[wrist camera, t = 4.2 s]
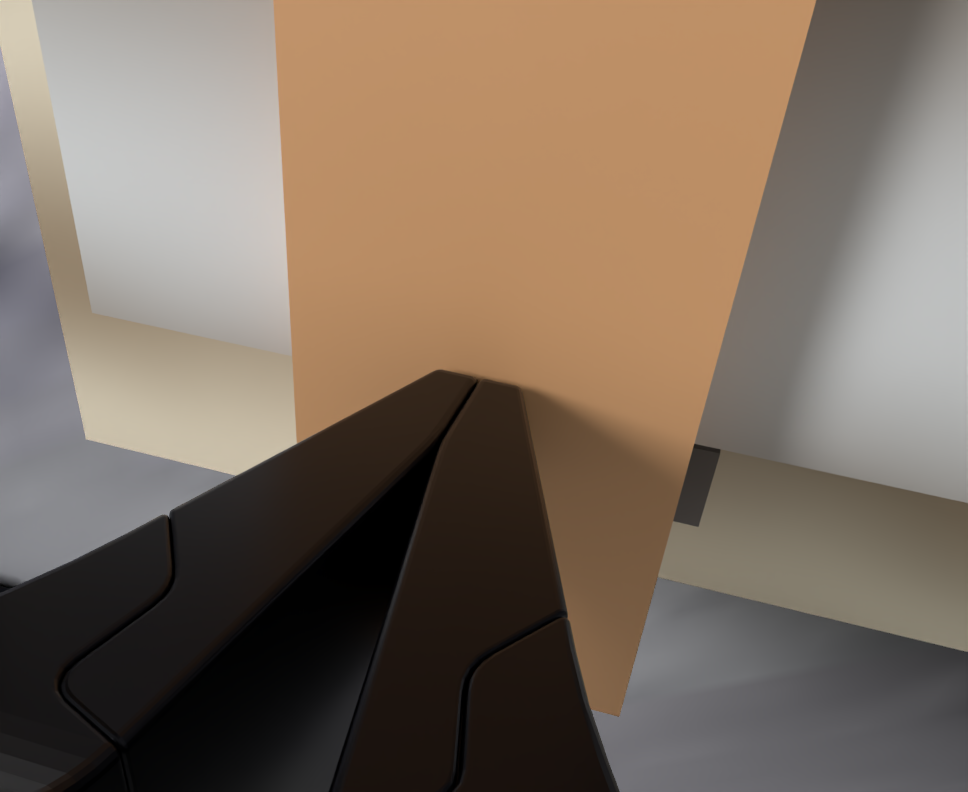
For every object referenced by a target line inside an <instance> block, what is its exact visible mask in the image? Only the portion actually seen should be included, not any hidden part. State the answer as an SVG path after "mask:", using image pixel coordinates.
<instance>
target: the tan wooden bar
mask: <svg viewBox="0 0 968 792" xmlns="http://www.w3.org/2000/svg"><path fill="white" fill-rule="evenodd" d="M815 3H816V0H273V5H274V24H275V43H276V62H277V81H278V99H279V118H280V137H281V156H282V175H283V194H284V213H285V231H286V250H287V269H288V288H289V307H290V326H291V345H292V363H293V382H294V401H295V420H296V439H297V443H299V442H301V441H303V440H304V439H306V438H308V437H310V436H312V435H314V434H316V433H318V432H320V431H321V430H323V429H325V428H327V427H329V426H331V425H333V424H335V423H337V422H338V421H340V420H342V419H344V418H346V417H348V416H350V415H352V414H353V413H355V412H357V411H359V410H361V409H363V408H365V407H367V406H369V405H370V404H372V403H374V402H376V401H378V400H380V399H382V398H384V397H385V396H387V395H389V394H391V393H393V392H395V391H397V390H399V389H401V388H402V387H404V386H406V385H408V384H410V383H412V382H414V381H416V380H418V379H419V378H421V377H423V376H425V375H427V374H429V373H431V372H433V371H435V370H439V369H442V370H447V371H451V372H456V373H460V374H465V375H470V376H473V377H475V378H476V379H477V382H478V383H479V382H480V381H481V380H483V379H488V380H492V381H497V382H502V383H507V384H511V385H516V386H518V387H519V388H521V390H522V392H523V397H524V402H525V407H526V411H527V416H528V421H529V426H530V431H531V436H532V441H533V446H534V451H535V455H536V460H537V465H538V470H539V475H540V480H541V485H542V490H543V495H544V499H545V504H546V509H547V514H548V519H549V524H550V529H551V534H552V539H553V543H554V548H555V553H556V558H557V563H558V568H559V573H560V578H561V583H562V587H563V592H564V597H565V602H566V607H567V612H568V618H567V619H568V620H569V621H570V624H571V629H572V634H573V639H574V644H575V648H576V653H577V657H578V661H579V665H580V669H581V673H582V677H583V681H584V685H585V689H586V693H587V697H588V701H589V705H590V708H591V709H592V710H596V711H599V712H603V713H607V714H611V715H614V716H618V717H619V716H620V712H621V708H622V705H623V701H624V697H625V694H626V690H627V686H628V683H629V679H630V676H631V672H632V668H633V665H634V661H635V657H636V654H637V650H638V646H639V643H640V639H641V636H642V632H643V628H644V625H645V621H646V617H647V614H648V610H649V607H650V603H651V599H652V596H653V592H654V588H655V585H656V581H657V577H658V574H659V570H660V567H661V563H662V559H663V556H664V552H665V548H666V545H667V541H668V537H669V534H670V530H671V527H672V523H673V519H674V516H675V512H676V508H677V505H678V501H679V498H680V494H681V490H682V487H683V483H684V479H685V476H686V472H687V468H688V465H689V461H690V458H691V454H692V450H693V447H694V443H695V439H696V436H697V432H698V428H699V425H700V421H701V418H702V414H703V410H704V407H705V403H706V399H707V396H708V392H709V388H710V385H711V381H712V378H713V374H714V370H715V367H716V363H717V359H718V356H719V352H720V349H721V345H722V341H723V338H724V334H725V330H726V327H727V323H728V319H729V316H730V312H731V309H732V305H733V301H734V298H735V294H736V290H737V287H738V283H739V279H740V276H741V272H742V269H743V265H744V261H745V258H746V254H747V250H748V247H749V243H750V240H751V236H752V232H753V229H754V225H755V221H756V218H757V214H758V210H759V207H760V203H761V200H762V196H763V192H764V189H765V185H766V181H767V178H768V174H769V170H770V167H771V163H772V160H773V156H774V152H775V149H776V145H777V141H778V138H779V134H780V130H781V127H782V123H783V120H784V116H785V112H786V109H787V105H788V101H789V98H790V94H791V91H792V87H793V83H794V80H795V76H796V72H797V69H798V65H799V61H800V58H801V54H802V51H803V47H804V43H805V40H806V36H807V32H808V29H809V25H810V21H811V18H812V14H813V11H814V7H815Z"/></svg>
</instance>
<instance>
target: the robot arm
mask: <svg viewBox="0 0 968 792" xmlns="http://www.w3.org/2000/svg"><path fill="white" fill-rule="evenodd" d="M169 517H170V519H169ZM169 517H168V516H167V515H161V516H159V517H157V518H155V519H153V520H151V521H149V522H147V523H146V524H144V525H142V526H140V527H138V528H136V529H134V530H132V531H130V532H129V533H127V534H125V535H123V536H121V537H119V538H117V539H115V540H113V541H111V542H109V543H107V544H105V545H103V546H101V547H99V548H97V549H95V550H93V551H91V552H89V553H87V554H85V555H83V556H81V557H79V558H77V559H75V560H73V561H71V562H69V563H66V564H64V565H62V566H60V567H57V568H55V569H53V570H51V571H49V572H46V573H44V574H42V575H40V576H37V577H35V578H33V579H31V580H29V581H26V582H24V583H22V584H20V585H17V586H15V587H13V588H11V589H10V588H6V587H2V586H0V792H620V791H619V789H618V786H617V783H616V781H615V778H614V775H613V773H612V770H611V767H610V765H609V762H608V759H607V756H606V753H605V750H604V747H603V744H602V741H601V738H600V735H599V732H598V729H597V726H596V723H595V720H594V717H593V714H592V711H591V708H590V705H589V701H588V697H587V693H586V689H585V685H584V681H583V677H582V673H581V669H580V665H579V661H578V657H577V653H576V648H575V644H574V639H573V634H572V629H571V624H570V621H569V620H568V619H567V618H568V612H567V607H566V602H565V597H564V592H563V587H562V583H561V578H560V573H559V568H558V563H557V558H556V553H555V548H554V543H553V539H552V534H551V529H550V524H549V519H548V514H547V509H546V504H545V499H544V495H543V490H542V485H541V480H540V475H539V470H538V465H537V460H536V455H535V451H534V446H533V441H532V436H531V431H530V426H529V421H528V416H527V411H526V407H525V402H524V397H523V392H522V390H521V388H519V387H518V386H516V385H511V384H507V383H502V382H497V381H492V380H488V379H483V380H481V381H480V382H479V383H478V382H477V379H476V378H475V377H473V376H470V375H465V374H460V373H456V372H451V371H447V370H442V369H439V370H435V371H433V372H431V373H429V374H427V375H425V376H423V377H421V378H419V379H418V380H416V381H414V382H412V383H410V384H408V385H406V386H404V387H402V388H401V389H399V390H397V391H395V392H393V393H391V394H389V395H387V396H385V397H384V398H382V399H380V400H378V401H376V402H374V403H372V404H370V405H369V406H367V407H365V408H363V409H361V410H359V411H357V412H355V413H353V414H352V415H350V416H348V417H346V418H344V419H342V420H340V421H338V422H337V423H335V424H333V425H331V426H329V427H327V428H325V429H323V430H321V431H320V432H318V433H316V434H314V435H312V436H310V437H308V438H306V439H304V440H303V441H301V442H299V443H297V444H295V445H293V446H291V447H289V448H288V449H286V450H284V451H282V452H280V453H278V454H276V455H274V456H272V457H271V458H269V459H267V460H265V461H263V462H261V463H259V464H257V465H255V466H254V467H252V468H250V469H248V470H246V471H244V472H242V473H240V474H239V475H237V476H235V477H233V478H231V479H229V480H227V481H225V482H223V483H222V484H220V485H218V486H216V487H214V488H212V489H210V490H208V491H207V492H205V493H203V494H201V495H199V496H197V497H195V498H193V499H191V500H190V501H188V502H186V503H184V504H182V505H180V506H178V507H176V508H174V509H173V510H171V511H170V514H169Z"/></svg>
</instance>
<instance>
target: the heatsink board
mask: <svg viewBox="0 0 968 792" xmlns="http://www.w3.org/2000/svg"><path fill="white" fill-rule="evenodd" d="M0 46H1V51H2V55H3V60H4V64H5V69H6V73H7V78H8V83H9V87H10V92H11V96H12V101H13V106H14V110H15V115H16V119H17V124H18V129H19V133H20V138H21V142H22V147H23V151H24V156H25V161H26V165H27V170H28V174H29V179H30V184H31V188H32V193H33V197H34V202H35V206H36V211H37V216H38V220H39V225H40V229H41V234H42V239H43V243H44V248H45V252H46V257H47V261H48V266H49V271H50V275H51V280H52V284H53V289H54V294H55V298H56V303H57V307H58V312H59V317H60V321H61V326H62V330H63V335H64V339H65V344H66V349H67V353H68V358H69V362H70V367H71V372H72V376H73V381H74V385H75V390H76V394H77V399H78V404H79V408H80V413H81V417H82V422H83V427H84V431H85V436H86V439H87V440H91V441H95V442H100V443H104V444H108V445H112V446H116V447H120V448H124V449H129V450H133V451H137V452H141V453H145V454H149V455H153V456H158V457H162V458H166V459H170V460H174V461H178V462H182V463H187V464H191V465H195V466H199V467H203V468H207V469H211V470H216V471H220V472H224V473H228V474H232V475H236V476H237V475H239V474H240V473H242V472H244V471H246V470H248V469H250V468H252V467H254V466H255V465H257V464H259V463H261V462H263V461H265V460H267V459H269V458H271V457H272V456H274V455H276V454H278V453H280V452H282V451H284V450H286V449H288V448H289V447H291V446H293V445H295V444H297V439H296V420H295V401H294V382H293V363H292V345H291V326H290V307H289V288H288V269H287V250H286V231H285V213H284V194H283V175H282V156H281V137H280V118H279V99H278V81H277V62H276V43H275V24H274V5H273V0H0ZM658 577H659V578H663V579H667V580H671V581H676V582H680V583H684V584H688V585H692V586H696V587H700V588H705V589H709V590H713V591H717V592H721V593H725V594H729V595H734V596H738V597H742V598H746V599H750V600H754V601H758V602H763V603H767V604H771V605H775V606H779V607H783V608H787V609H792V610H796V611H800V612H804V613H808V614H812V615H816V616H821V617H825V618H829V619H833V620H837V621H841V622H845V623H850V624H854V625H858V626H862V627H866V628H870V629H875V630H879V631H883V632H887V633H891V634H895V635H899V636H904V637H908V638H912V639H916V640H920V641H924V642H928V643H933V644H937V645H941V646H945V647H949V648H953V649H957V650H962V651H966V652H968V0H816V3H815V7H814V11H813V14H812V18H811V21H810V25H809V29H808V32H807V36H806V40H805V43H804V47H803V51H802V54H801V58H800V61H799V65H798V69H797V72H796V76H795V80H794V83H793V87H792V91H791V94H790V98H789V101H788V105H787V109H786V112H785V116H784V120H783V123H782V127H781V130H780V134H779V138H778V141H777V145H776V149H775V152H774V156H773V160H772V163H771V167H770V170H769V174H768V178H767V181H766V185H765V189H764V192H763V196H762V200H761V203H760V207H759V210H758V214H757V218H756V221H755V225H754V229H753V232H752V236H751V240H750V243H749V247H748V250H747V254H746V258H745V261H744V265H743V269H742V272H741V276H740V279H739V283H738V287H737V290H736V294H735V298H734V301H733V305H732V309H731V312H730V316H729V319H728V323H727V327H726V330H725V334H724V338H723V341H722V345H721V349H720V352H719V356H718V359H717V363H716V367H715V370H714V374H713V378H712V381H711V385H710V388H709V392H708V396H707V399H706V403H705V407H704V410H703V414H702V418H701V421H700V425H699V428H698V432H697V436H696V439H695V443H694V447H693V450H692V454H691V458H690V461H689V465H688V468H687V472H686V476H685V479H684V483H683V487H682V490H681V494H680V498H679V501H678V505H677V508H676V512H675V516H674V519H673V523H672V527H671V530H670V534H669V537H668V541H667V545H666V548H665V552H664V556H663V559H662V563H661V567H660V570H659V574H658Z"/></svg>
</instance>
